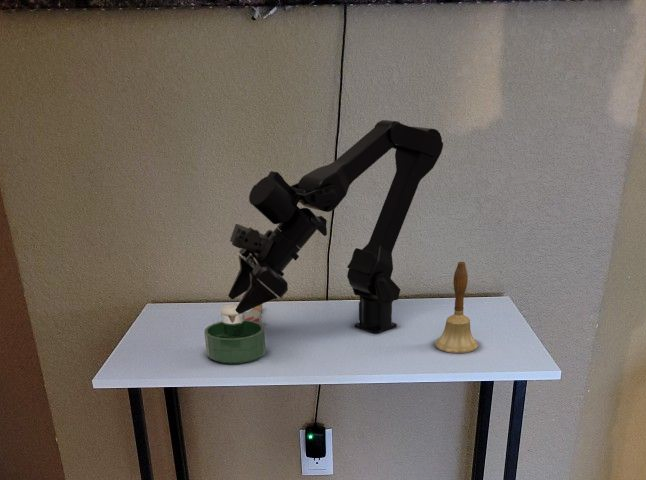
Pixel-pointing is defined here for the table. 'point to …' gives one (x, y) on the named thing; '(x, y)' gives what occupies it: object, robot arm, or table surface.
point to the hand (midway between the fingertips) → (233, 304)
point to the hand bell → (458, 320)
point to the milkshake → (232, 321)
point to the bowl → (235, 343)
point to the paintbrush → (254, 314)
